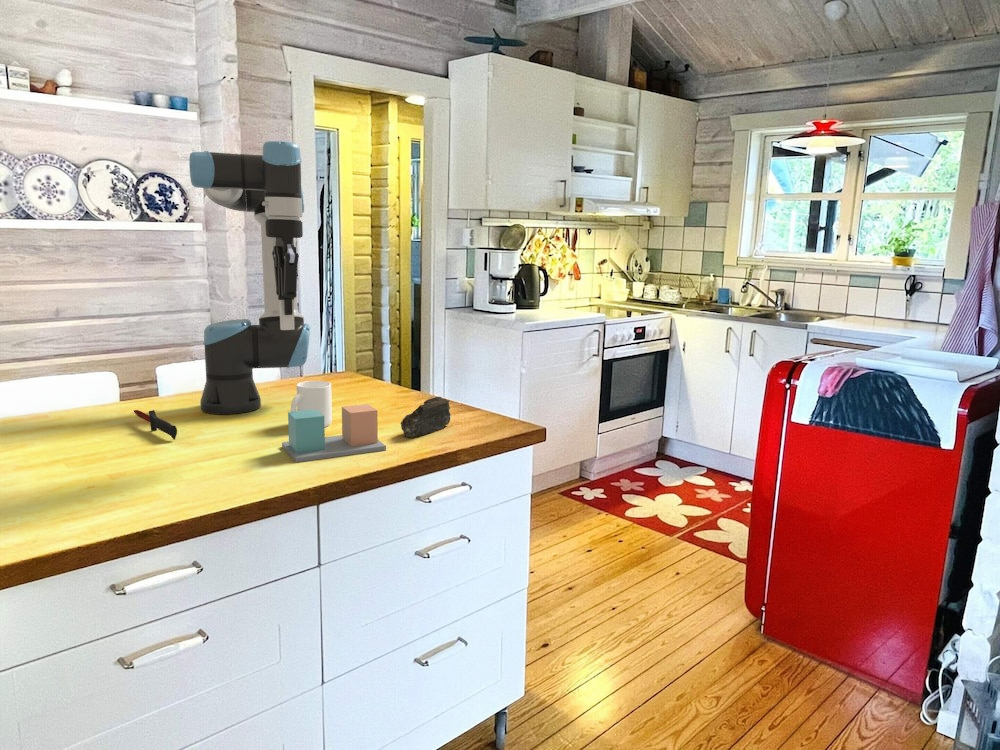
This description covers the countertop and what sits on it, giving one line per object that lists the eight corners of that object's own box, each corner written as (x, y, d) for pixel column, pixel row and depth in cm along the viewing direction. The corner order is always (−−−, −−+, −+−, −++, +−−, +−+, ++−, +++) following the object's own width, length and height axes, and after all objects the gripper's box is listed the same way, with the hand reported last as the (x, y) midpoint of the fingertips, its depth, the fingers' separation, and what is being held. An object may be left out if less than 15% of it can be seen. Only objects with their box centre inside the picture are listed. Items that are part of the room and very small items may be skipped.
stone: (426, 421, 183) (396, 438, 169) (427, 391, 181) (397, 406, 167) (451, 426, 180) (422, 444, 167) (452, 395, 178) (423, 411, 165)
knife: (178, 441, 161) (176, 420, 160) (171, 442, 160) (170, 421, 159) (137, 420, 177) (135, 400, 176) (131, 421, 176) (129, 401, 175)
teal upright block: (289, 445, 157) (287, 412, 155) (316, 441, 160) (316, 409, 158) (296, 453, 152) (295, 419, 150) (325, 449, 155) (324, 415, 153)
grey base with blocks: (282, 446, 159) (280, 409, 157) (367, 436, 169) (367, 400, 167) (295, 462, 149) (294, 422, 147) (386, 450, 159) (385, 412, 157)
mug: (304, 434, 169) (303, 392, 167) (279, 429, 173) (277, 387, 171) (338, 423, 179) (338, 383, 177) (314, 418, 183) (313, 379, 181)
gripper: (258, 217, 154) (263, 326, 158) (272, 218, 143) (276, 334, 147) (293, 219, 157) (297, 324, 162) (310, 219, 146) (312, 332, 151)
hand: (287, 329), depth 155 cm, fingers closed
